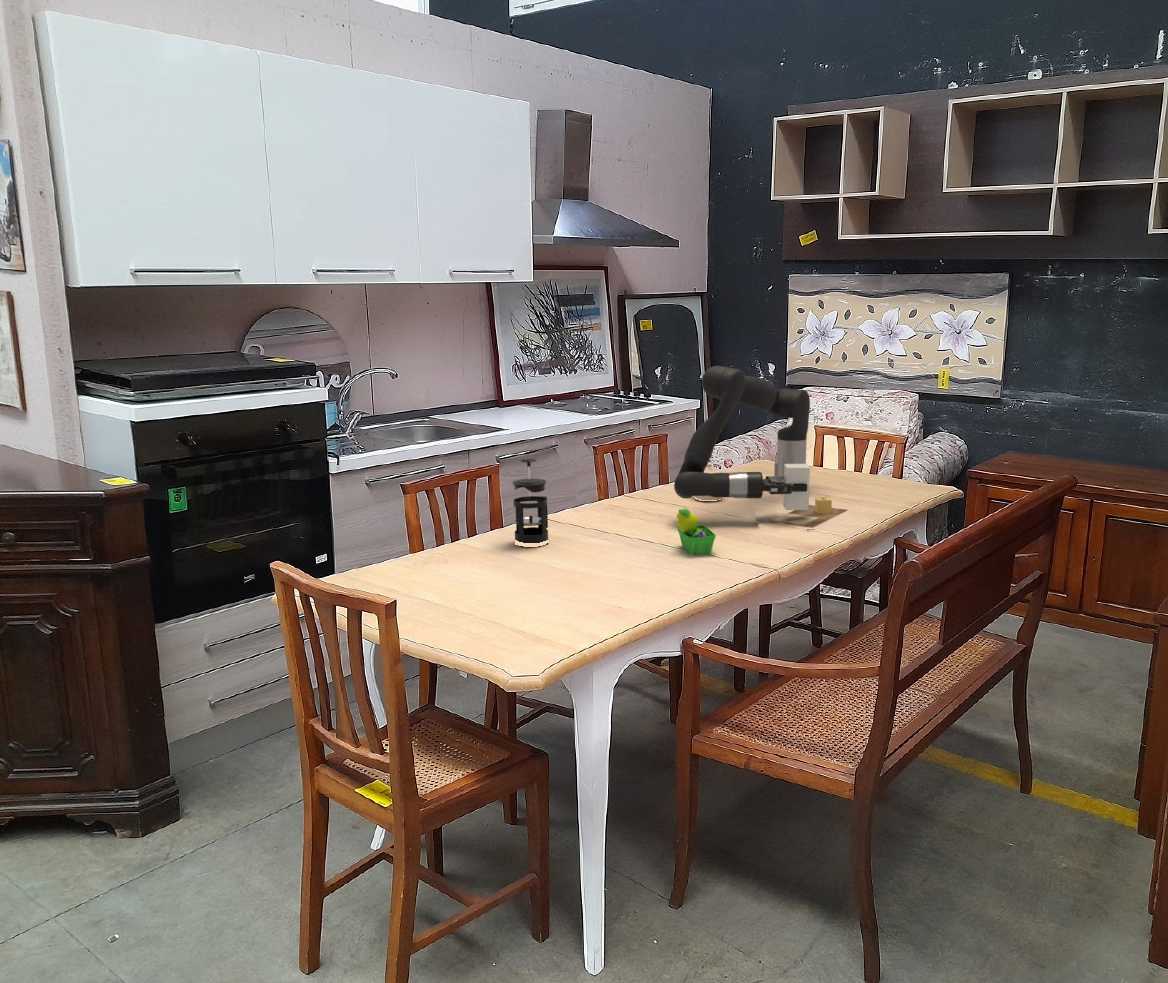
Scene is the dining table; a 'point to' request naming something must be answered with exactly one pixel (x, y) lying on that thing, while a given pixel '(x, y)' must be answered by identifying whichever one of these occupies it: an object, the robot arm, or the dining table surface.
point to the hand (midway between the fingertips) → (804, 485)
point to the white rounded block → (796, 475)
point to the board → (807, 517)
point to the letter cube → (823, 505)
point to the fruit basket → (694, 533)
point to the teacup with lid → (710, 469)
